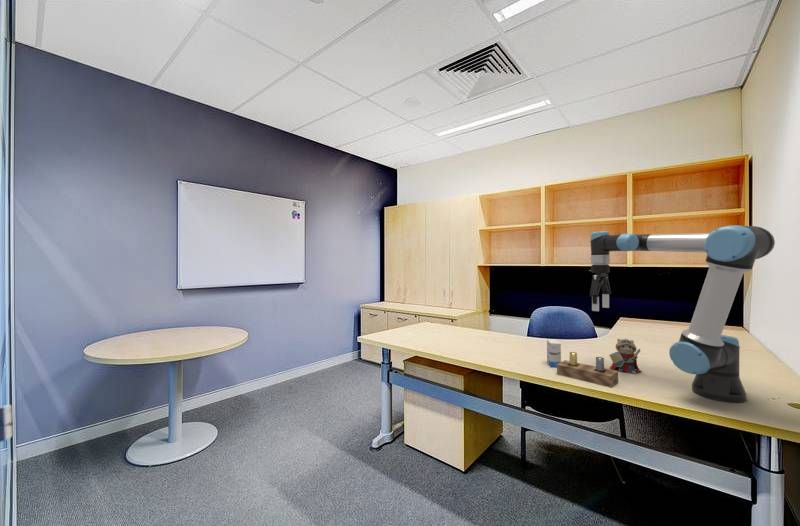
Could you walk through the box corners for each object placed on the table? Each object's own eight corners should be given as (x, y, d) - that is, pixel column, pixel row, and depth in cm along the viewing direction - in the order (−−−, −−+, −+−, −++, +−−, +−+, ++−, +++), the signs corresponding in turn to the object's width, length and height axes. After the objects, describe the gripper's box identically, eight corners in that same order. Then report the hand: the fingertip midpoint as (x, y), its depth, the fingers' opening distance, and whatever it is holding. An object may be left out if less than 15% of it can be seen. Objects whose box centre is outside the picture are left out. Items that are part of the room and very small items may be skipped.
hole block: (618, 381, 143) (618, 371, 142) (611, 387, 137) (611, 376, 137) (565, 369, 159) (565, 360, 159) (557, 374, 153) (556, 364, 153)
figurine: (606, 371, 156) (605, 339, 156) (611, 365, 164) (611, 334, 164) (640, 377, 147) (640, 343, 147) (644, 370, 155) (643, 338, 155)
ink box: (561, 367, 162) (561, 343, 162) (550, 367, 163) (550, 343, 163) (557, 362, 170) (556, 339, 170) (546, 361, 171) (546, 339, 171)
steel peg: (605, 380, 144) (604, 357, 144) (602, 382, 142) (602, 359, 142) (597, 379, 146) (597, 356, 146) (595, 380, 144) (594, 357, 144)
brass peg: (578, 374, 152) (578, 352, 152) (575, 376, 150) (575, 354, 150) (571, 373, 154) (571, 351, 154) (568, 374, 152) (568, 352, 152)
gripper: (600, 263, 168) (601, 305, 168) (581, 265, 152) (582, 311, 152) (617, 263, 162) (618, 307, 163) (599, 265, 146) (600, 313, 146)
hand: (600, 309), depth 157 cm, fingers open, 13 cm apart
